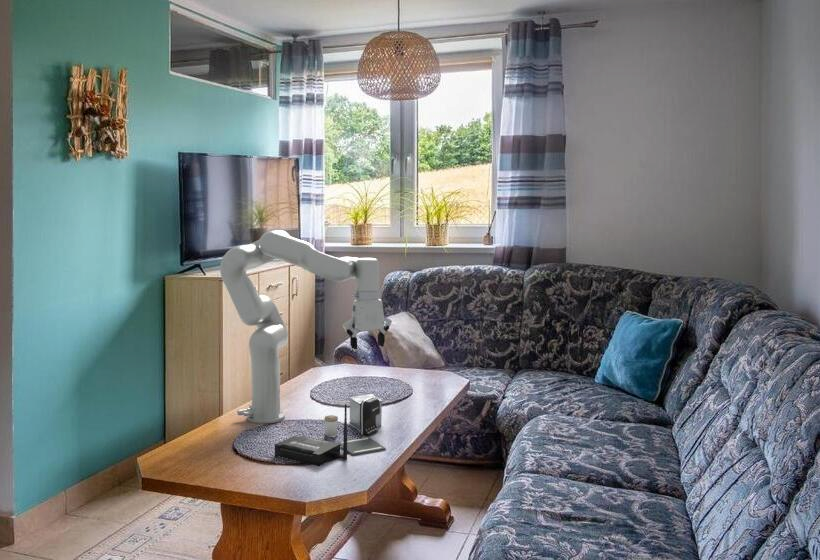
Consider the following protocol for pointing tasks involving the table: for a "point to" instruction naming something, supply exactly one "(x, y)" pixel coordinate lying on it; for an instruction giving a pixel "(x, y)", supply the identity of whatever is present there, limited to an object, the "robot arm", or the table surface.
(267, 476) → the table surface
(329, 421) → the white cylinder
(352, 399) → the wall box
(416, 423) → the table surface
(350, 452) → the mat
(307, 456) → the black router
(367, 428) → the battery charger
